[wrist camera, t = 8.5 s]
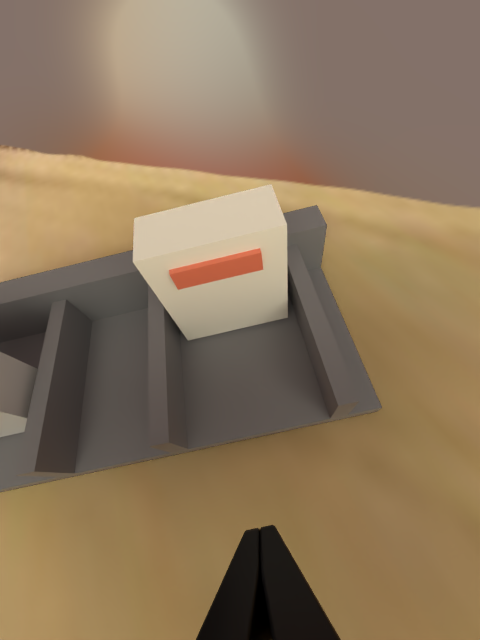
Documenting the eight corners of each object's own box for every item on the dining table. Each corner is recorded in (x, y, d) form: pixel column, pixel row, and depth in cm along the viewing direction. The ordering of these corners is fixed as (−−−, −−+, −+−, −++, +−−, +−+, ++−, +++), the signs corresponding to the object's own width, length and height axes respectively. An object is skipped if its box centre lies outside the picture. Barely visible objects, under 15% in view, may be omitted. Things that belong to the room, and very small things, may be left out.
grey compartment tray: (376, 411, 16) (408, 385, 12) (-100, 513, 18) (-225, 523, 13) (309, 252, 23) (314, 200, 19) (-32, 334, 24) (-100, 302, 20)
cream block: (288, 321, 19) (288, 229, 12) (188, 344, 19) (132, 267, 12) (277, 283, 21) (271, 184, 14) (184, 305, 21) (134, 218, 14)
